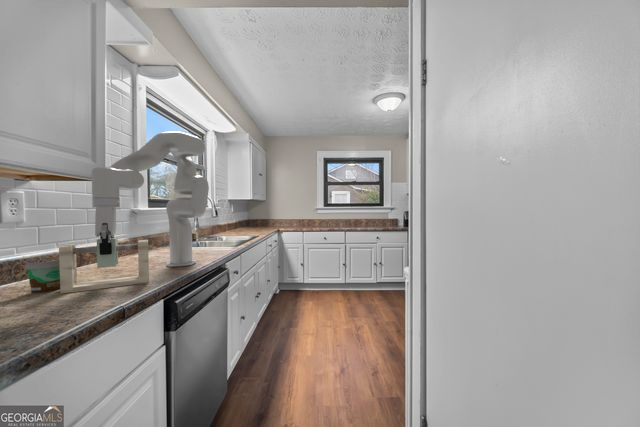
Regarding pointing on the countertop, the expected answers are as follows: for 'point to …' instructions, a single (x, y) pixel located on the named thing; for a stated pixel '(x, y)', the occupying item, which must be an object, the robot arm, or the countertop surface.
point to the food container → (44, 276)
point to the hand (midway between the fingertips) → (107, 252)
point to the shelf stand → (70, 280)
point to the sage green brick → (107, 259)
